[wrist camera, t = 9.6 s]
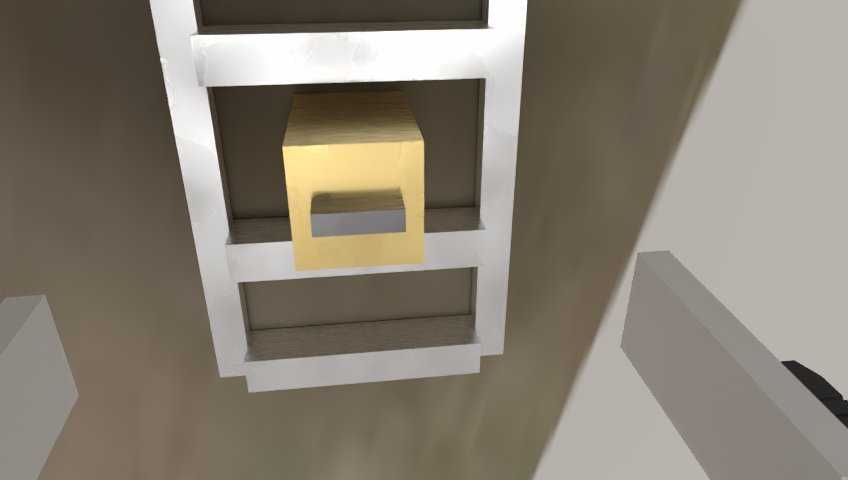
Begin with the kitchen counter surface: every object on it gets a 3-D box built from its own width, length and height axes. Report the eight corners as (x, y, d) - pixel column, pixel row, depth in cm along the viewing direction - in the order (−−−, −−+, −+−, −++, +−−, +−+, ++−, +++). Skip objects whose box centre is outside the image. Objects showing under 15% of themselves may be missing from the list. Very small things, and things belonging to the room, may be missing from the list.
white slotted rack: (129, -156, 21) (106, -166, 19) (528, -151, 23) (549, -159, 21) (224, 362, 31) (215, 395, 29) (497, 340, 33) (509, 369, 31)
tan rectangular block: (303, 194, 28) (293, 289, 21) (294, 93, 26) (279, 159, 19) (404, 189, 28) (428, 279, 21) (402, 90, 26) (429, 152, 19)
